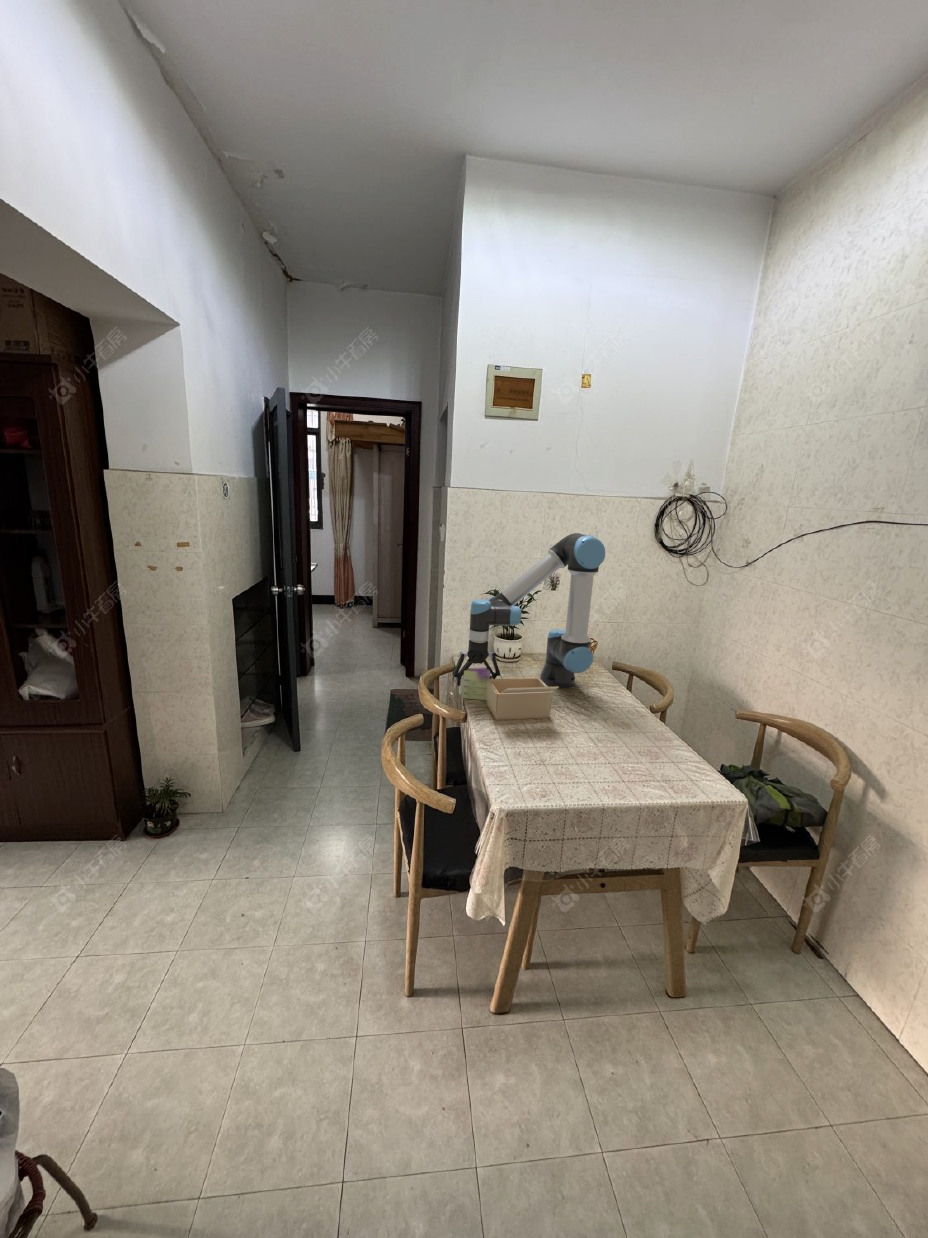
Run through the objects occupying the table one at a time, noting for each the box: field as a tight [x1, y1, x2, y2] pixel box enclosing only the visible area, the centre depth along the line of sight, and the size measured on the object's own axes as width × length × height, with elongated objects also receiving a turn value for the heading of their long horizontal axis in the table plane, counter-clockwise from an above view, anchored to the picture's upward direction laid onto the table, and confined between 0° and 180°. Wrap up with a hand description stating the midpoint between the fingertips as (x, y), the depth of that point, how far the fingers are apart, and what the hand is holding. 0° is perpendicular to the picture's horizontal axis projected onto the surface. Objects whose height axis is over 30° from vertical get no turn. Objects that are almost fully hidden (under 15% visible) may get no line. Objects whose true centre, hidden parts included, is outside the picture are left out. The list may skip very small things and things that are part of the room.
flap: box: [501, 686, 560, 694], centre depth 174 cm, size 19×8×1 cm
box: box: [461, 665, 491, 701], centre depth 197 cm, size 10×6×12 cm, turn 84°
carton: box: [486, 677, 553, 721], centre depth 187 cm, size 21×14×10 cm
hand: (475, 692), depth 198 cm, fingers closed on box, 11 cm apart
